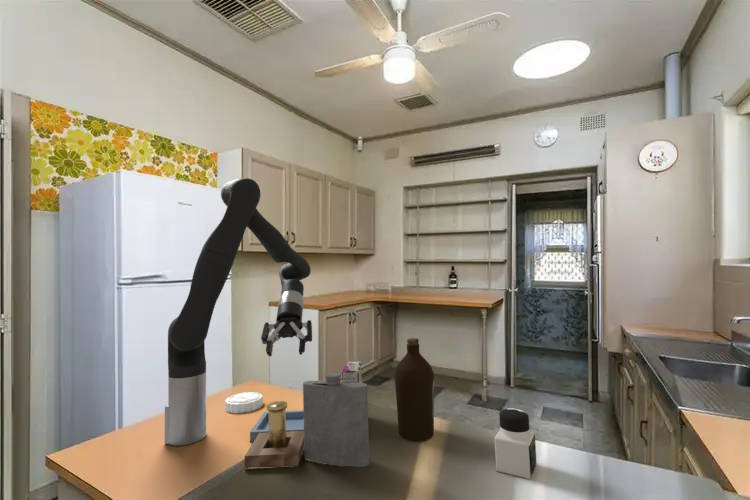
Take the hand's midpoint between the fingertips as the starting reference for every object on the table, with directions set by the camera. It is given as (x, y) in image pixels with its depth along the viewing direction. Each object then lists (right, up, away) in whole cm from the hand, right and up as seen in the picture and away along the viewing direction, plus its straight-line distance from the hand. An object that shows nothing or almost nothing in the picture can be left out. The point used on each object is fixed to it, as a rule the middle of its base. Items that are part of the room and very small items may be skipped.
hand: (285, 354), depth 102 cm
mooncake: (-19, -24, +21) cm, 37 cm away
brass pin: (+2, -21, -13) cm, 25 cm away
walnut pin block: (+2, -21, -13) cm, 25 cm away
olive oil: (+36, -20, -4) cm, 42 cm away
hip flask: (+16, -20, -17) cm, 31 cm away
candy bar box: (+19, -21, +4) cm, 29 cm away
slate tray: (-1, -22, +1) cm, 22 cm away
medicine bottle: (+56, -19, -22) cm, 63 cm away
